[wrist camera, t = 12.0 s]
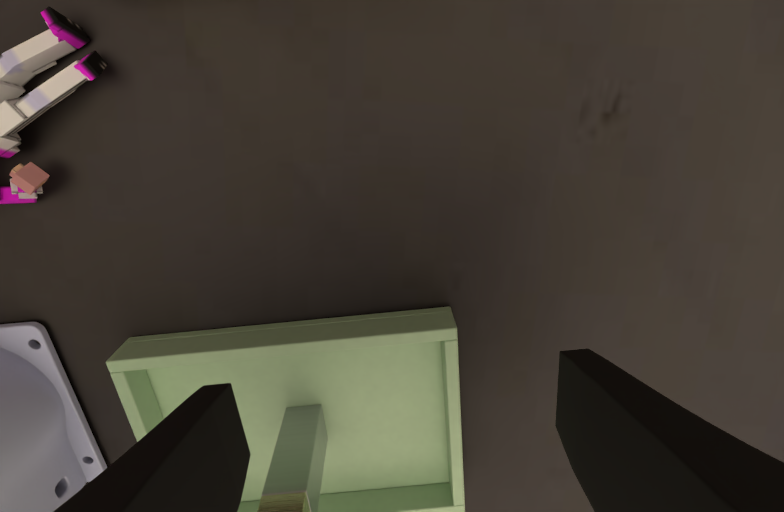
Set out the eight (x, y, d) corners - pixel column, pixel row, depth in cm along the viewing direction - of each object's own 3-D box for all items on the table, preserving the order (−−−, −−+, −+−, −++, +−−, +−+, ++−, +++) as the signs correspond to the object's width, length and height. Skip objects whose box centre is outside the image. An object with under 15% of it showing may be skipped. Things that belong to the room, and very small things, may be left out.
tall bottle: (328, 437, 23) (296, 665, 14) (293, 441, 23) (239, 671, 14) (321, 403, 22) (283, 622, 13) (285, 407, 22) (223, 628, 13)
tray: (458, 481, 25) (465, 513, 23) (191, 506, 25) (175, 540, 23) (450, 305, 21) (457, 328, 19) (129, 336, 21) (104, 361, 19)
